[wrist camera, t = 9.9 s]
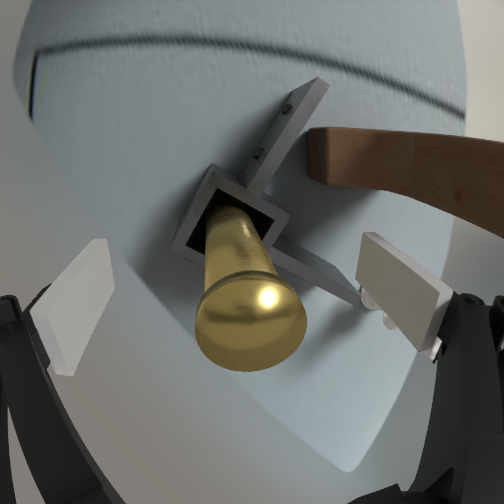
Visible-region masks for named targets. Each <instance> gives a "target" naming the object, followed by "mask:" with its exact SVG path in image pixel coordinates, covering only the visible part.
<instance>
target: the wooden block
mask: <svg viewBox="0 0 504 504" xmlns="http://www.w3.org/2000/svg"><path fill="white" fill-rule="evenodd" d="M308 175H309V178H310V179H313V180H315V181H317V182H319V183H322V184H324V185H326V186H329V187H363V188H370V189H377V190H384V191H389V192H393V193H397V194H400V195H404V196H408V197H410V198H413V199H415V200H418V201H421V202H423V203H426V204H428V205H431V206H433V207H436V208H438V209H440V210H443V211H445V212H447V213H450V214H452V215H454V216H457V217H459V218H461V219H464V220H466V221H468V222H470V223H472V224H475V225H477V226H479V227H481V228H483V229H485V230H487V231H489V232H491V233H493V234H496V235H497V236H500V237H501V238H503V239H504V142H498V141H492V140H485V139H478V138H471V137H463V136H454V135H444V134H433V133H420V132H405V131H389V130H376V129H360V128H345V127H317V128H311V129H309V131H308Z"/></svg>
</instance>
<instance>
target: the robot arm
mask: <svg viewBox="0 0 504 504" xmlns="http://www.w3.org/2000/svg"><path fill="white" fill-rule="evenodd" d="M355 279H356V280H357V281H358V283H359V284H360V285H361V286H362V287H363V288H364V289H365V290H366V291H367V292H368V294H369V295H370V296H371V297H372V298H373V299H374V300H375V301H376V303H377V304H378V305H379V306H380V307H381V308H382V309H383V311H384V312H385V313H386V314H387V315H388V316H389V317H390V319H391V320H392V321H393V322H394V323H395V324H396V326H397V327H398V328H399V329H400V330H401V331H402V333H403V334H404V335H405V336H406V337H407V339H408V340H409V341H410V342H411V343H412V345H413V346H414V347H415V348H416V349H417V351H418V352H421V351H425V350H428V349H432V347H433V345H434V342H435V340H436V338H437V337H438V338H439V339H440V340H441V341H442V342H441V344H440V347H439V349H438V351H437V353H436V356H435V358H434V360H433V362H432V363H435V361H436V360H438V362H437V372H436V381H435V389H434V396H433V402H432V408H431V414H430V420H429V425H428V430H427V435H426V439H425V444H424V448H423V452H422V457H421V460H420V464H419V468H418V471H417V474H416V477H415V480H414V482H413V484H412V485H411V487H410V488H409V490H408V491H401V490H400V488H399V486H398V484H394V485H392V486H389V487H387V488H384V489H381V490H379V491H376V492H373V493H370V494H367V495H364V496H361V497H358V498H357V499H355V500H353V501H351V502H350V503H348V504H504V349H503V350H502V349H501V345H502V343H503V341H504V296H499V295H498V296H496V297H495V300H494V302H493V305H492V306H485V303H484V301H483V300H482V299H480V298H479V297H477V296H475V295H472V294H467V293H465V294H464V293H463V294H460V295H458V294H457V293H456V292H454V291H453V290H452V289H451V288H450V287H448V286H447V285H446V284H445V283H443V282H442V281H441V280H439V279H438V278H437V277H436V276H434V275H433V274H432V273H430V272H429V271H428V270H426V269H425V268H424V267H422V266H421V265H420V264H418V263H417V262H416V261H414V260H413V259H412V258H410V257H409V256H407V255H406V254H405V253H403V252H402V251H400V250H399V249H398V248H396V247H395V246H393V245H392V244H391V243H389V242H388V241H386V240H385V239H383V238H382V237H381V236H379V235H378V234H376V233H375V232H363V234H362V241H361V248H360V254H359V260H358V266H357V272H356V277H355ZM114 290H115V284H114V279H113V273H112V268H111V262H110V256H109V249H108V243H107V239H93V240H92V241H91V242H90V243H89V244H88V245H87V246H86V247H85V248H84V249H83V250H82V252H81V253H80V254H79V255H78V256H77V257H76V258H75V259H74V260H73V261H72V262H71V263H70V264H69V266H68V267H67V268H66V269H65V270H64V271H63V272H62V273H61V274H60V275H59V277H58V278H57V279H56V280H55V281H54V282H53V283H52V284H49V285H48V286H46V287H45V288H43V289H42V290H41V291H40V293H38V295H37V297H35V298H34V299H33V300H32V302H31V303H30V304H29V306H27V308H26V309H25V310H24V311H23V313H22V311H21V308H20V305H19V302H18V299H17V298H16V296H13V295H5V296H1V297H0V504H16V499H15V493H14V487H13V481H12V474H11V466H10V456H9V443H8V419H7V418H8V416H7V414H8V413H7V412H8V411H7V408H8V407H9V410H10V414H11V417H12V421H13V424H14V427H15V431H16V434H17V436H18V440H19V442H20V446H21V448H22V451H23V454H24V456H25V459H26V461H27V464H28V466H29V469H30V471H31V474H32V476H33V478H34V480H35V483H36V485H37V487H38V489H39V491H40V493H41V495H42V497H43V499H44V501H45V503H46V504H126V503H125V502H124V501H123V499H122V498H121V497H120V496H119V494H118V493H117V492H116V490H115V489H114V488H113V486H112V485H111V484H110V482H109V481H108V479H107V478H106V477H105V475H104V474H103V472H102V471H101V469H100V468H99V466H98V465H97V463H96V462H95V461H94V459H93V457H92V456H91V454H90V452H89V451H88V449H87V448H86V446H85V444H84V443H83V441H82V439H81V437H80V436H79V434H78V432H77V431H76V429H75V427H74V425H73V423H72V421H71V419H70V418H69V416H68V414H67V412H66V410H65V408H64V406H63V404H62V402H61V400H60V398H59V396H58V394H57V391H56V389H55V387H54V385H53V383H52V380H51V378H50V376H49V374H48V372H47V368H48V366H49V364H50V363H51V365H52V367H53V369H54V371H55V373H56V374H59V375H65V376H73V375H74V373H75V370H76V368H77V365H78V363H79V361H80V359H81V356H82V355H83V352H84V350H85V348H86V346H87V344H88V342H89V339H90V337H91V335H92V333H93V331H94V329H95V327H96V325H97V322H98V321H99V319H100V317H101V314H102V313H103V311H104V309H105V307H106V305H107V303H108V301H109V299H110V297H111V295H112V293H113V291H114ZM7 406H8V407H7Z"/></svg>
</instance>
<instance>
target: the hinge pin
mask: <svg viewBox="0 0 504 504" xmlns="http://www.w3.org/2000/svg"><path fill="white" fill-rule="evenodd" d="M306 328H307V316H306V312H305V309H304V307H303V304H302V303H301V301H300V299H299V297H298V295H297V293H296V292H295V290H294V289H293V287H292V286H291V285H290V284H289V283H288V282H286V281H285V280H284V279H282V278H281V277H279V276H278V274H277V272H276V270H275V268H274V266H273V264H272V262H271V260H270V258H269V255H268V253H267V251H266V249H265V247H264V245H263V243H262V241H261V239H260V237H259V235H258V233H257V231H256V229H255V227H254V225H253V223H252V221H251V219H250V217H249V215H248V213H247V211H246V209H245V207H244V205H243V203H242V201H241V200H239V199H237V198H235V197H233V196H231V195H230V194H228V193H221V194H218V195H216V196H215V197H213V198H212V199H211V200H210V202H209V204H208V206H207V218H206V246H205V293H204V294H203V296H202V297H201V299H200V301H199V303H198V307H197V311H196V323H195V335H196V340H197V343H198V345H199V347H200V349H201V351H202V352H203V353H204V355H205V356H206V357H207V358H208V359H210V360H211V361H212V362H214V363H215V364H217V365H219V366H221V367H223V368H226V369H230V370H234V371H242V372H251V371H259V370H263V369H267V368H270V367H272V366H275V365H277V364H279V363H280V362H282V361H284V360H285V359H287V358H288V357H289V356H290V355H291V354H292V353H293V352H294V351H295V350H296V349H297V348H298V346H299V345H300V344H301V342H302V340H303V338H304V335H305V332H306Z"/></svg>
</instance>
